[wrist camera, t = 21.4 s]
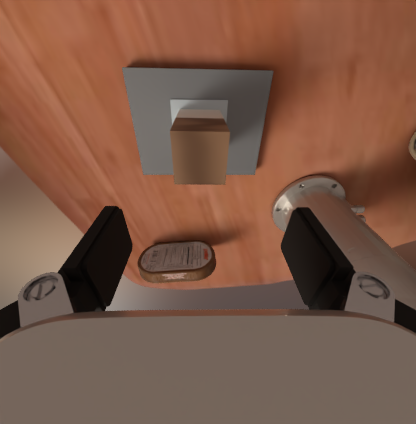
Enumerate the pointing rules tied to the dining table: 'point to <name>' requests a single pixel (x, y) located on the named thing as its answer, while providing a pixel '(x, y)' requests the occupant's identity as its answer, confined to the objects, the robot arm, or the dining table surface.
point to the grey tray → (197, 99)
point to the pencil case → (413, 146)
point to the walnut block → (199, 150)
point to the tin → (177, 262)
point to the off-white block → (199, 113)
